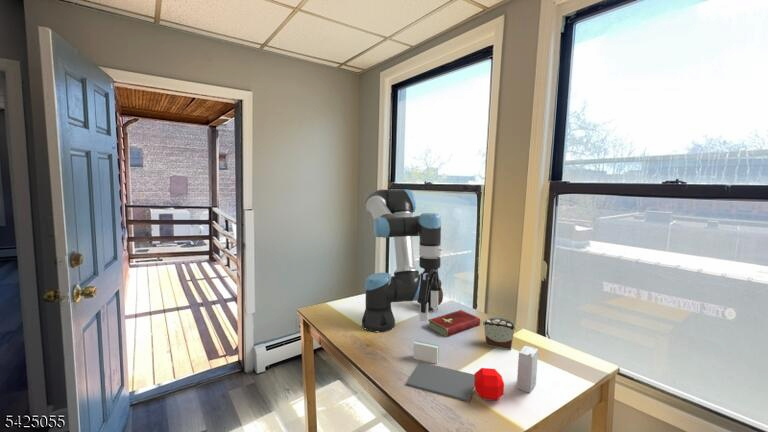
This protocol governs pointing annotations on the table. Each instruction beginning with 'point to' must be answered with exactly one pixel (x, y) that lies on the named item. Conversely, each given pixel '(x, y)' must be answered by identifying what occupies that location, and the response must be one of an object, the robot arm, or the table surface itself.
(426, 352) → the tile
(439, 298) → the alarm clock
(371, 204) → the robot arm
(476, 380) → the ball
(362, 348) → the table surface
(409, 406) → the table surface
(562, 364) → the table surface
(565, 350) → the table surface
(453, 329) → the hardcover book
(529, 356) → the skincare box
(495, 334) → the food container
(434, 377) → the mat
